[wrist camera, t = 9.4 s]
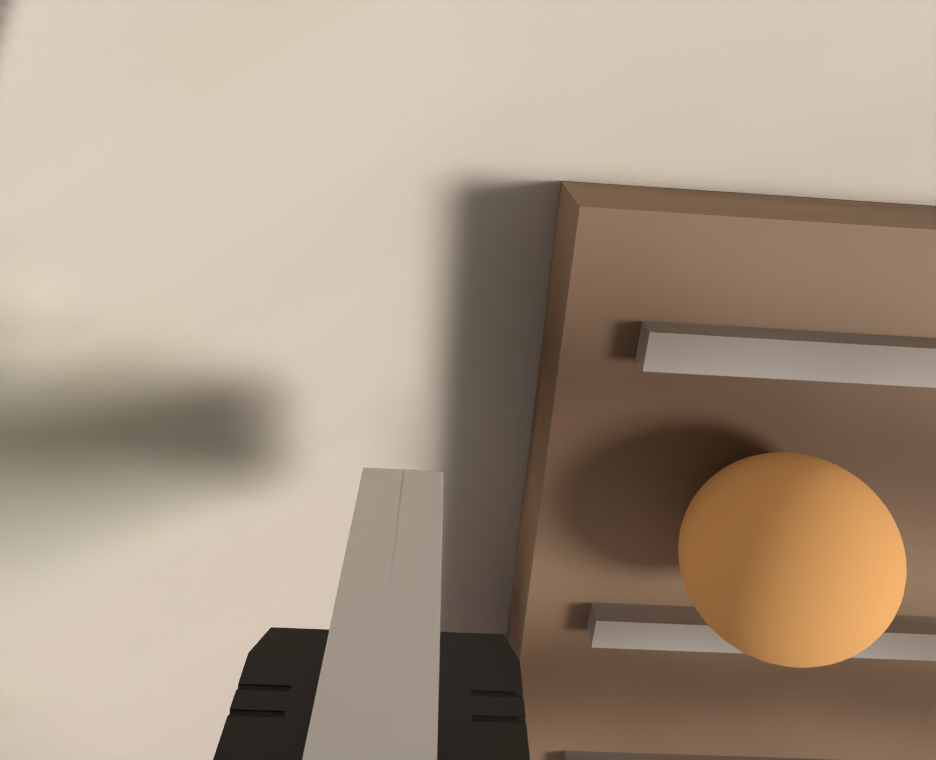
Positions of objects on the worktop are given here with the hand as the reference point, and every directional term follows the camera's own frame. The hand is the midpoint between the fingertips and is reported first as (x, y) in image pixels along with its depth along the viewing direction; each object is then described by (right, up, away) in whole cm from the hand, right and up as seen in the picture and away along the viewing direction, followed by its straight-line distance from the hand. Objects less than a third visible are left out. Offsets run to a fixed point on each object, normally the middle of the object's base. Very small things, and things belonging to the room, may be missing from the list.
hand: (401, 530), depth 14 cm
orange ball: (+7, 0, 0) cm, 7 cm away
